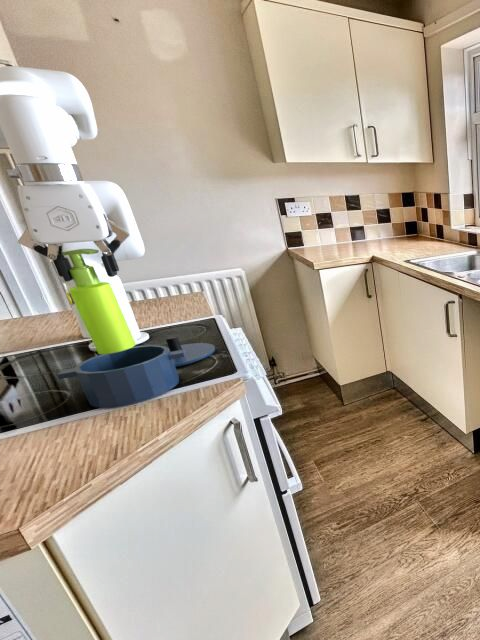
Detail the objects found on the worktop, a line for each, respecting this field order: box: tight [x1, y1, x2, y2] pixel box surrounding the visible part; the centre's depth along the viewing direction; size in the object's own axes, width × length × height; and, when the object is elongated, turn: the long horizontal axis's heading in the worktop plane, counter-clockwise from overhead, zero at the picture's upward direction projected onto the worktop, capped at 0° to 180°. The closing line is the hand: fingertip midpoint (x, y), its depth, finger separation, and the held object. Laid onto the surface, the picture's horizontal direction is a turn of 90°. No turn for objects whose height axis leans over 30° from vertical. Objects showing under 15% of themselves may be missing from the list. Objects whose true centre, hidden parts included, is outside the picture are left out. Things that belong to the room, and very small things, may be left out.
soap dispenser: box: [61, 249, 137, 355], centre depth 82 cm, size 6×7×20 cm
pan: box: [57, 344, 186, 409], centre depth 88 cm, size 15×20×8 cm
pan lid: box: [165, 335, 216, 368], centre depth 104 cm, size 16×16×6 cm
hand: (91, 276), depth 80 cm, fingers closed on soap dispenser, 5 cm apart
